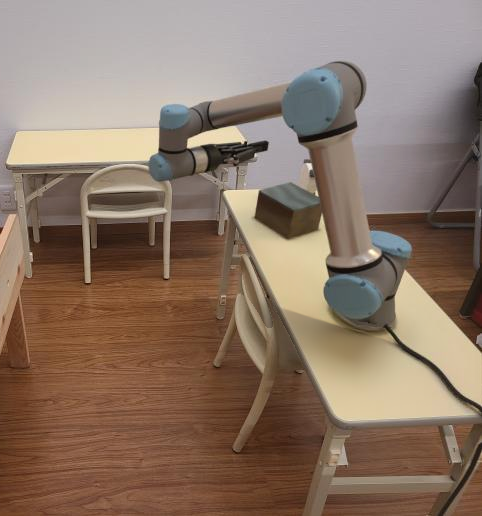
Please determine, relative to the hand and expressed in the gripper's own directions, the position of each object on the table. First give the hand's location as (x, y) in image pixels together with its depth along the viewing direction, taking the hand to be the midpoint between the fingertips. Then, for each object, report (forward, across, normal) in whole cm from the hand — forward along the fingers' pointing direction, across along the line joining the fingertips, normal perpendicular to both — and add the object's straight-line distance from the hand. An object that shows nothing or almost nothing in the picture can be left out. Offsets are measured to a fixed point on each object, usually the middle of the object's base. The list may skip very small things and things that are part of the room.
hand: (266, 145), depth 147 cm
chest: (+15, 0, -30) cm, 34 cm away
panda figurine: (+32, -9, -30) cm, 45 cm away
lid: (+15, 0, -21) cm, 26 cm away
